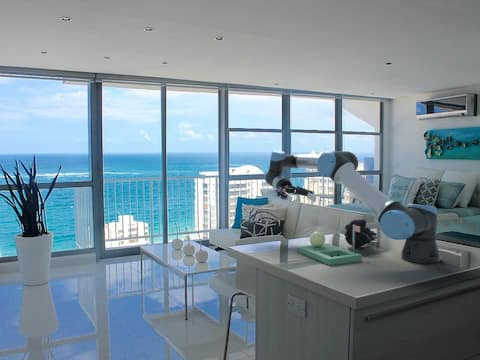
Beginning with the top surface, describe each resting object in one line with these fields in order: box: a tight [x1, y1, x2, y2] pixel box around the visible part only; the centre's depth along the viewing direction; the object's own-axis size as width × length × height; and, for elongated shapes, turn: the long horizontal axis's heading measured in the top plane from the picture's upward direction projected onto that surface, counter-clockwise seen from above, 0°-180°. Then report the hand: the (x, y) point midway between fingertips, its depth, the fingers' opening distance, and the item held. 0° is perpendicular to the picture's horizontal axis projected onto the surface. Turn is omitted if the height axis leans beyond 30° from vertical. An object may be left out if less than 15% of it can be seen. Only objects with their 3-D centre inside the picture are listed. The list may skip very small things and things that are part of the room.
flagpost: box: [352, 225, 360, 253], centre depth 178 cm, size 4×1×14 cm, turn 23°
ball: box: [309, 230, 326, 247], centre depth 188 cm, size 7×7×7 cm
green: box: [297, 243, 363, 266], centre depth 181 cm, size 24×16×2 cm, turn 23°
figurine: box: [339, 219, 381, 249], centre depth 199 cm, size 14×13×30 cm
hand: (303, 199), depth 200 cm, fingers open, 13 cm apart
